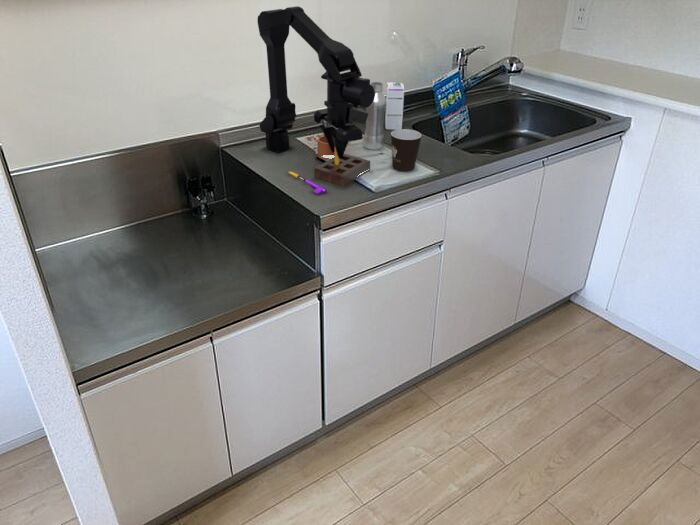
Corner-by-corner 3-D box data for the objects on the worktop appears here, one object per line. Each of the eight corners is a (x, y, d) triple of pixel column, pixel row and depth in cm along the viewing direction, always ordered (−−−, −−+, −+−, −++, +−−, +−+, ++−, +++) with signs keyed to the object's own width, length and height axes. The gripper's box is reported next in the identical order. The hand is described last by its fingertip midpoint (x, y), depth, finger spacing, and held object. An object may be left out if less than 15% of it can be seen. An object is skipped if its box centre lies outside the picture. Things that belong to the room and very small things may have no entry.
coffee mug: (419, 173, 160) (422, 140, 155) (389, 172, 160) (391, 139, 155) (416, 158, 170) (419, 126, 165) (387, 157, 170) (390, 125, 165)
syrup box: (402, 130, 190) (405, 87, 183) (384, 129, 190) (387, 86, 183) (401, 124, 195) (404, 82, 187) (384, 123, 195) (386, 81, 187)
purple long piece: (327, 191, 148) (291, 172, 158) (326, 188, 147) (290, 169, 157) (319, 196, 147) (283, 177, 157) (318, 193, 146) (282, 173, 156)
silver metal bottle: (359, 150, 174) (362, 85, 163) (367, 143, 179) (370, 79, 169) (379, 153, 172) (383, 88, 161) (386, 146, 177) (390, 82, 167)
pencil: (333, 174, 158) (333, 139, 153) (336, 172, 159) (336, 138, 154) (337, 175, 158) (338, 140, 152) (340, 173, 159) (340, 139, 153)
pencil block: (314, 179, 155) (314, 167, 153) (342, 164, 165) (342, 152, 163) (343, 188, 151) (343, 176, 149) (369, 172, 160) (370, 160, 158)
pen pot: (312, 157, 168) (312, 140, 165) (326, 150, 173) (326, 133, 170) (332, 163, 165) (332, 145, 162) (345, 156, 170) (345, 138, 167)
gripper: (382, 105, 143) (378, 162, 152) (349, 86, 157) (348, 139, 166) (342, 110, 139) (341, 169, 147) (313, 90, 153) (313, 144, 161)
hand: (337, 154), depth 155 cm, fingers open, 4 cm apart
